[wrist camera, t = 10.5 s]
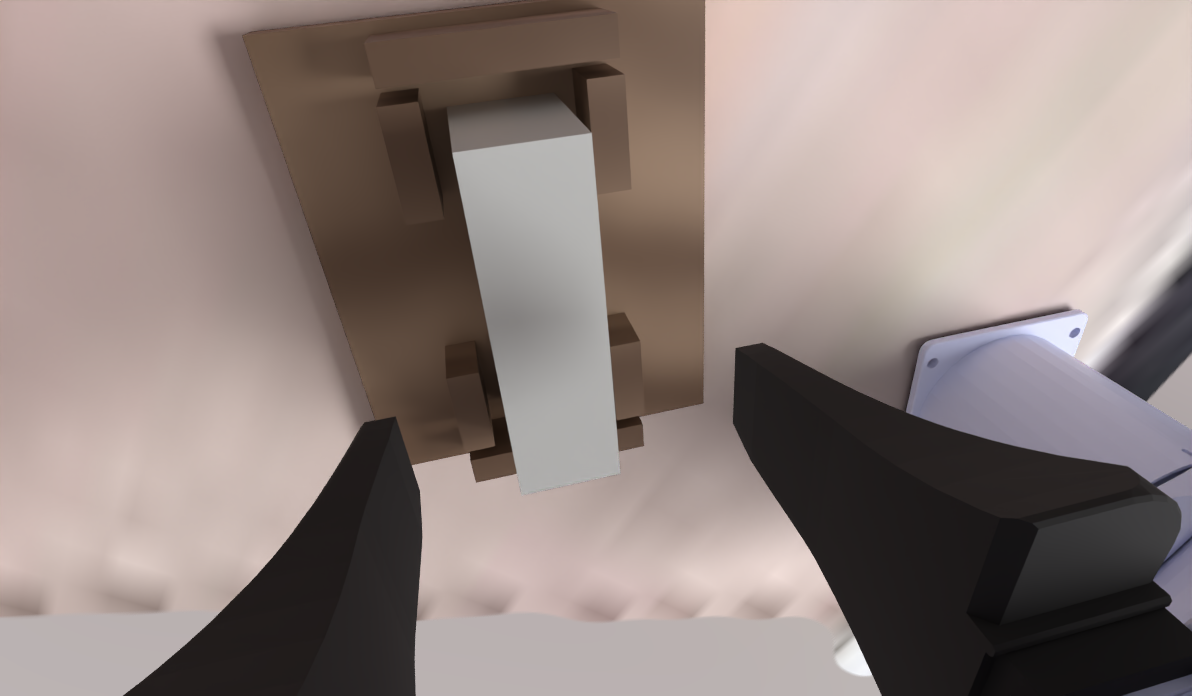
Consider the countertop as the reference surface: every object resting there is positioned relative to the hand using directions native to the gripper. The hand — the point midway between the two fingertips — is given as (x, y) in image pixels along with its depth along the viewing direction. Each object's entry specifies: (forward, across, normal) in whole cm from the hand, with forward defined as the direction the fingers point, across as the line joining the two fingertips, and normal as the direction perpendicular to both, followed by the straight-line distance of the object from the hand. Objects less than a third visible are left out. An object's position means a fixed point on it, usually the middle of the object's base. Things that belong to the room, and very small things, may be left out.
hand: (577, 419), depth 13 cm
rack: (+9, 0, 0) cm, 9 cm away
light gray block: (+8, 0, 0) cm, 8 cm away
